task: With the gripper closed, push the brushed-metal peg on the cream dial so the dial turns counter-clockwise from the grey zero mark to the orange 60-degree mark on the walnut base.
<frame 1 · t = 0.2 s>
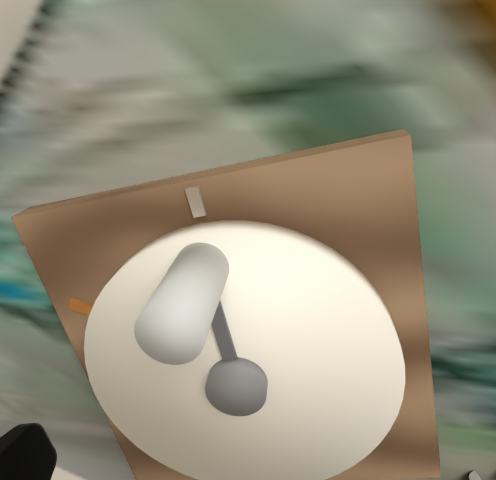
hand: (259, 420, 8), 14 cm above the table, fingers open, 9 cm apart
dial base: (246, 340, 24), on the table
dial: (232, 407, 19), point 5 cm above the table, hinge at 0.0°
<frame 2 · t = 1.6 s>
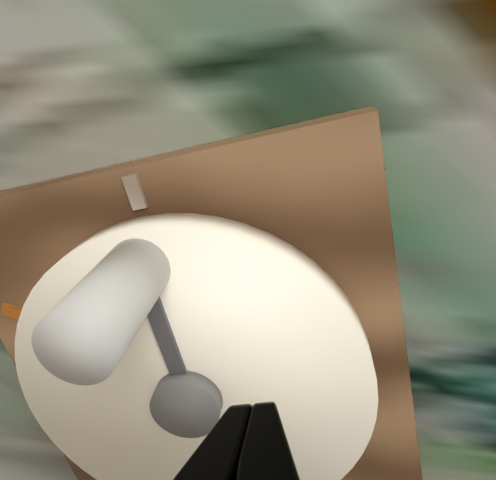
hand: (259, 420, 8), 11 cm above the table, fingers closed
dial base: (205, 349, 21), on the table
dial: (178, 429, 17), point 5 cm above the table, hinge at 0.0°
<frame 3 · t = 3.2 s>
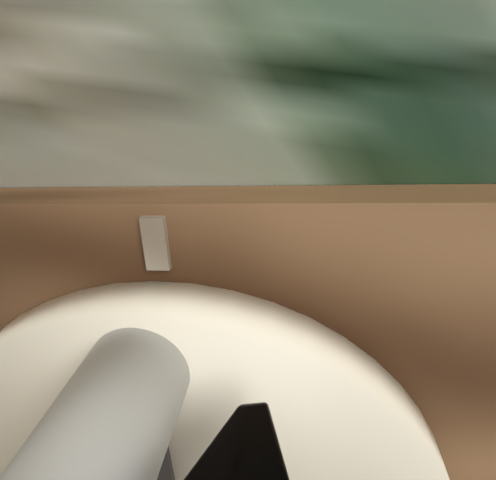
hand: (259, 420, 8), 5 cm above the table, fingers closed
dial base: (200, 450, 15), on the table
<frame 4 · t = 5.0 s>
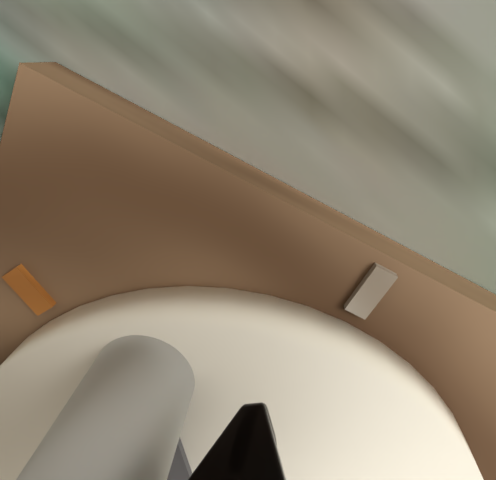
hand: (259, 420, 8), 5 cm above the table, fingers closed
dial base: (224, 452, 15), on the table
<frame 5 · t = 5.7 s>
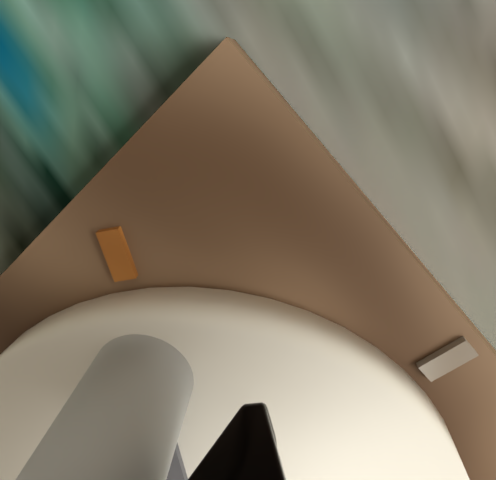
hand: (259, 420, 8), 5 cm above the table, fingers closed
dial base: (214, 453, 15), on the table
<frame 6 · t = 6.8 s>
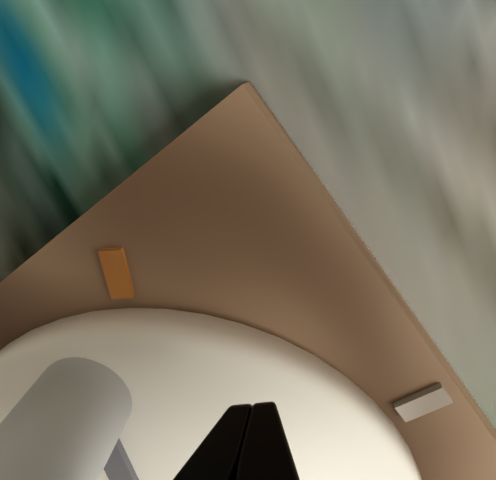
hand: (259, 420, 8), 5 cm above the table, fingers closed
dial base: (192, 464, 16), on the table
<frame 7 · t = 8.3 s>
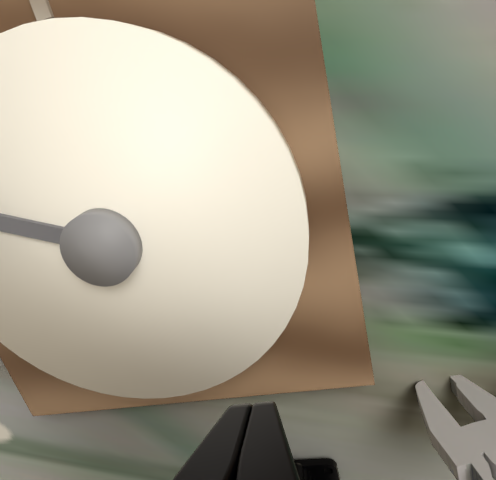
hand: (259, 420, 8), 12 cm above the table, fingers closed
dial base: (136, 215, 20), on the table
dial: (85, 262, 15), point 5 cm above the table, hinge at 66.7°
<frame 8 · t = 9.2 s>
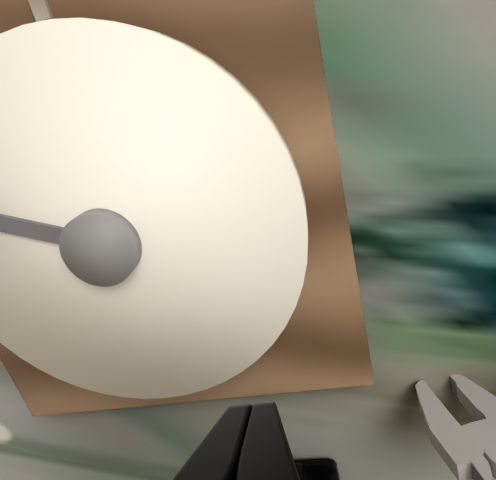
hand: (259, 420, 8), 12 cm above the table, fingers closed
dial base: (136, 215, 20), on the table
dial: (85, 262, 15), point 5 cm above the table, hinge at 66.7°
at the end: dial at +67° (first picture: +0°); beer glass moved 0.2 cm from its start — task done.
